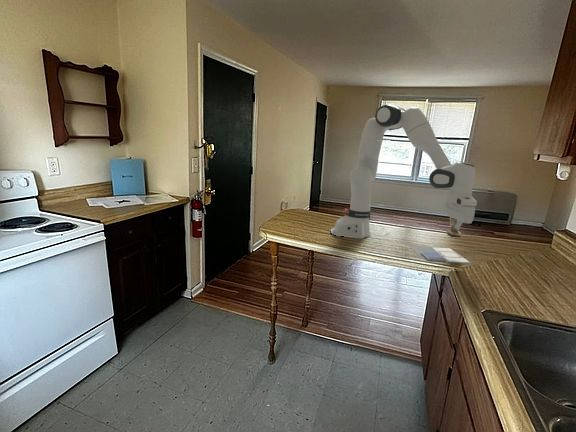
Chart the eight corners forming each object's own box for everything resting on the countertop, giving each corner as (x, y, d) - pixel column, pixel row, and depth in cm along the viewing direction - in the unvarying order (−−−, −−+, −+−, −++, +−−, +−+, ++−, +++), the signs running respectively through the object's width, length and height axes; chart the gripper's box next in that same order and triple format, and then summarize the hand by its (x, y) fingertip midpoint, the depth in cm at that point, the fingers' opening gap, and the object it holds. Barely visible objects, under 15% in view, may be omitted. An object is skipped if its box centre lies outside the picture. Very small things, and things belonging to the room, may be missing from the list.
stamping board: (426, 263, 138) (426, 258, 137) (409, 248, 157) (410, 243, 157) (471, 266, 138) (472, 260, 137) (449, 250, 157) (450, 245, 157)
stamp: (451, 237, 143) (454, 220, 141) (446, 234, 147) (449, 217, 145) (460, 237, 143) (463, 220, 141) (455, 234, 147) (458, 218, 145)
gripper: (442, 194, 151) (437, 221, 154) (464, 202, 131) (458, 233, 134) (455, 194, 151) (450, 222, 154) (479, 203, 131) (473, 234, 134)
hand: (454, 227), depth 144 cm, fingers closed on stamp, 3 cm apart
